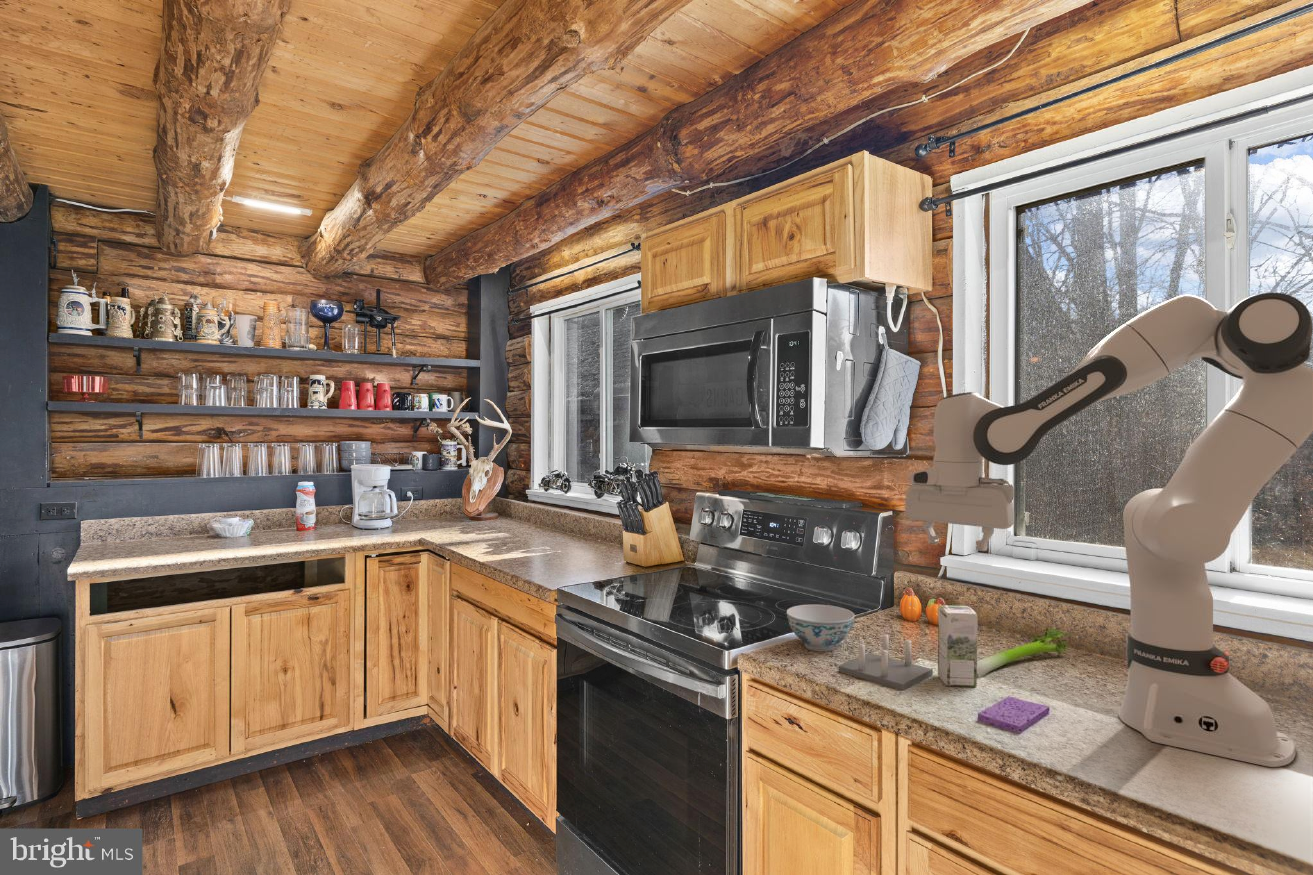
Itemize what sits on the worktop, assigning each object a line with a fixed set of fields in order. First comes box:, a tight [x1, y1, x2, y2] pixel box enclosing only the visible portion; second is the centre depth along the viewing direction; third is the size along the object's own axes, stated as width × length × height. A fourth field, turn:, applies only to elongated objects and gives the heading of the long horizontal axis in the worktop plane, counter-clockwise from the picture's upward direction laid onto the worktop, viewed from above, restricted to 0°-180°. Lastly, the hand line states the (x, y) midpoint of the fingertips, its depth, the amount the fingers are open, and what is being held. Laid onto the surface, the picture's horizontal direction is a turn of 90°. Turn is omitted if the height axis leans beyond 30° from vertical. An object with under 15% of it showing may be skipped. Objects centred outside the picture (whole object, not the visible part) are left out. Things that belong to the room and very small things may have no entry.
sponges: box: [977, 695, 1051, 735], centre depth 120 cm, size 7×13×2 cm, turn 131°
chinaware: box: [786, 604, 855, 652], centre depth 159 cm, size 15×15×8 cm
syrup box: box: [937, 605, 979, 688], centre depth 136 cm, size 6×6×14 cm
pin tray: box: [837, 634, 934, 691], centre depth 141 cm, size 14×12×6 cm
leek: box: [977, 628, 1069, 679], centre depth 147 cm, size 6×7×30 cm
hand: (957, 547), depth 136 cm, fingers open, 8 cm apart
